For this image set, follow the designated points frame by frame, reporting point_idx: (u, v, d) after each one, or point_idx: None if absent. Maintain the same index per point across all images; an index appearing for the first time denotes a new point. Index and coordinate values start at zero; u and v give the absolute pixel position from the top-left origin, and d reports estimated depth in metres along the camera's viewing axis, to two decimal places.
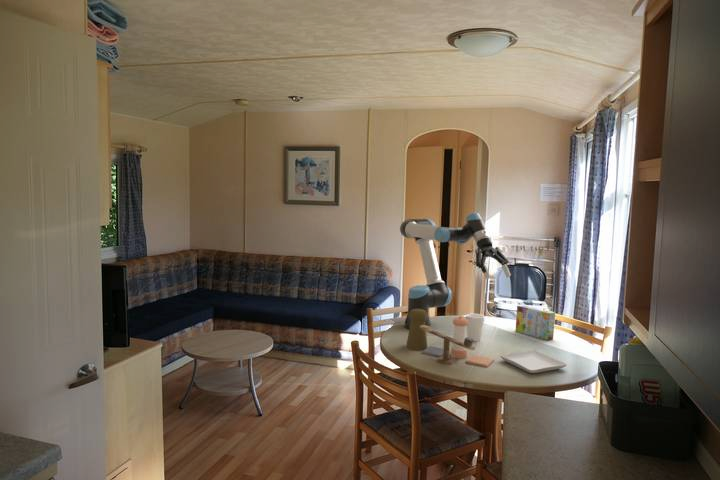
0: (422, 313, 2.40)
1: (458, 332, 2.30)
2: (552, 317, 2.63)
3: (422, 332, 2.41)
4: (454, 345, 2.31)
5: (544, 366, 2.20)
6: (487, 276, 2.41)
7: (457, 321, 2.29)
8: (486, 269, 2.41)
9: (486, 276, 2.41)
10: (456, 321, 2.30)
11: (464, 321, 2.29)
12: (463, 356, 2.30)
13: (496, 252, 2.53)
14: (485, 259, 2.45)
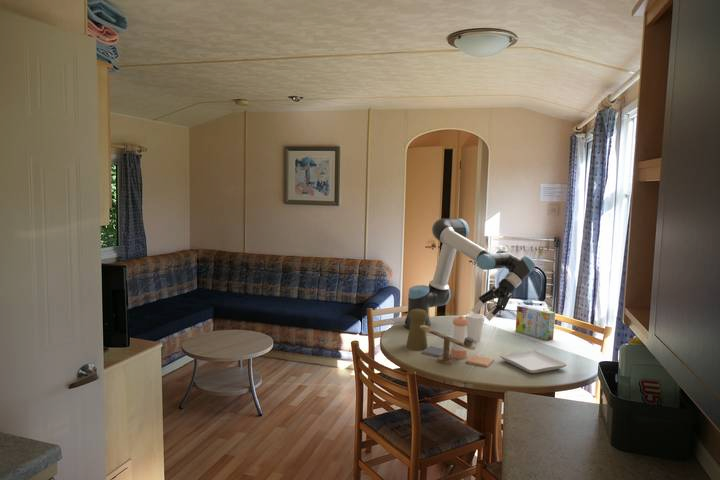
0: (422, 313, 2.40)
1: (458, 332, 2.30)
2: (552, 317, 2.63)
3: (422, 332, 2.41)
4: (454, 345, 2.31)
5: (544, 366, 2.20)
6: None
7: (457, 321, 2.29)
8: None
9: None
10: (456, 321, 2.30)
11: (464, 321, 2.29)
12: (463, 356, 2.30)
13: None
14: (486, 296, 2.40)
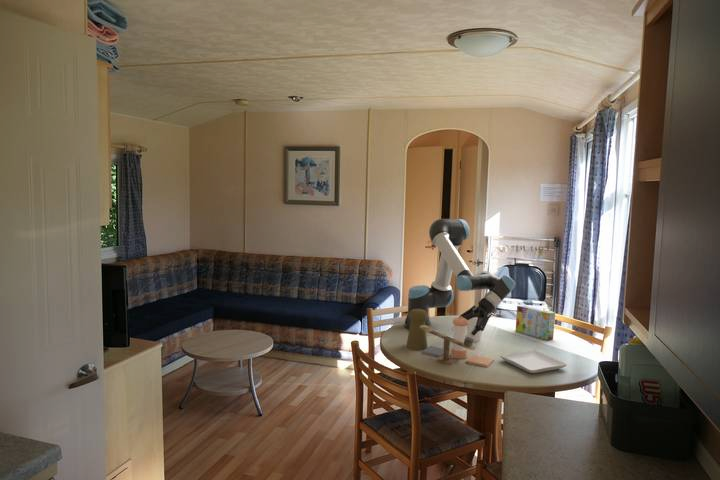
0: (422, 313, 2.40)
1: (458, 332, 2.30)
2: (552, 317, 2.63)
3: (422, 332, 2.41)
4: (454, 345, 2.31)
5: (544, 366, 2.20)
6: None
7: (457, 321, 2.29)
8: None
9: None
10: (456, 321, 2.30)
11: (464, 321, 2.29)
12: (463, 356, 2.30)
13: None
14: (466, 315, 2.38)
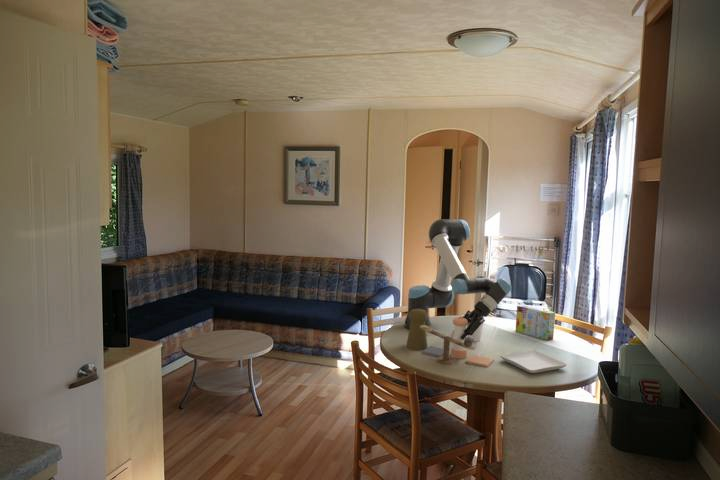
0: (422, 313, 2.40)
1: (458, 332, 2.30)
2: (552, 317, 2.63)
3: (422, 332, 2.41)
4: (454, 345, 2.31)
5: (544, 366, 2.20)
6: None
7: (457, 321, 2.29)
8: (453, 330, 2.36)
9: None
10: (456, 321, 2.30)
11: (464, 321, 2.29)
12: (463, 356, 2.30)
13: None
14: None
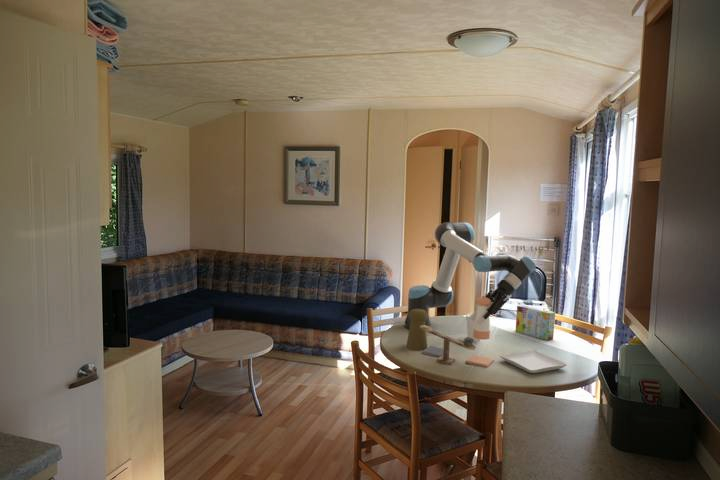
0: (422, 313, 2.40)
1: (481, 312, 2.21)
2: (552, 317, 2.63)
3: (422, 332, 2.41)
4: (477, 326, 2.23)
5: (544, 366, 2.20)
6: None
7: (480, 301, 2.21)
8: None
9: None
10: (479, 301, 2.21)
11: (488, 301, 2.21)
12: (486, 337, 2.22)
13: None
14: None
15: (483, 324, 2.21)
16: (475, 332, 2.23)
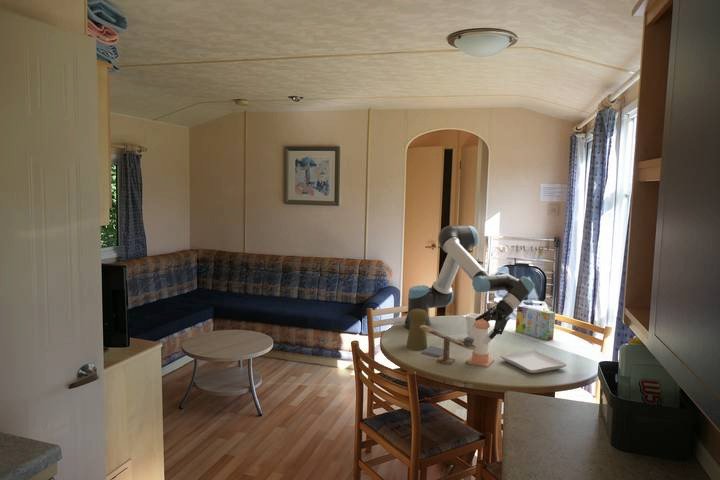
0: (422, 313, 2.40)
1: (480, 335, 2.22)
2: (552, 317, 2.63)
3: (422, 332, 2.41)
4: (475, 348, 2.24)
5: (544, 366, 2.20)
6: None
7: (479, 324, 2.22)
8: (473, 325, 2.31)
9: None
10: (478, 324, 2.22)
11: (486, 324, 2.22)
12: (485, 360, 2.23)
13: None
14: (483, 318, 2.30)
15: (482, 347, 2.22)
16: (474, 355, 2.24)
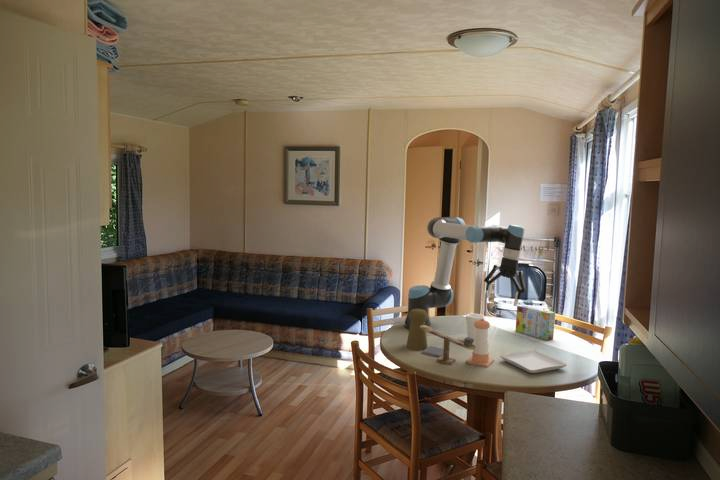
0: (422, 313, 2.40)
1: (480, 335, 2.22)
2: (552, 317, 2.63)
3: (422, 332, 2.41)
4: (475, 348, 2.24)
5: (544, 366, 2.20)
6: None
7: (479, 324, 2.22)
8: (488, 289, 2.37)
9: None
10: (478, 324, 2.22)
11: (486, 324, 2.22)
12: (485, 360, 2.23)
13: None
14: (494, 279, 2.35)
15: (482, 347, 2.22)
16: (474, 355, 2.24)
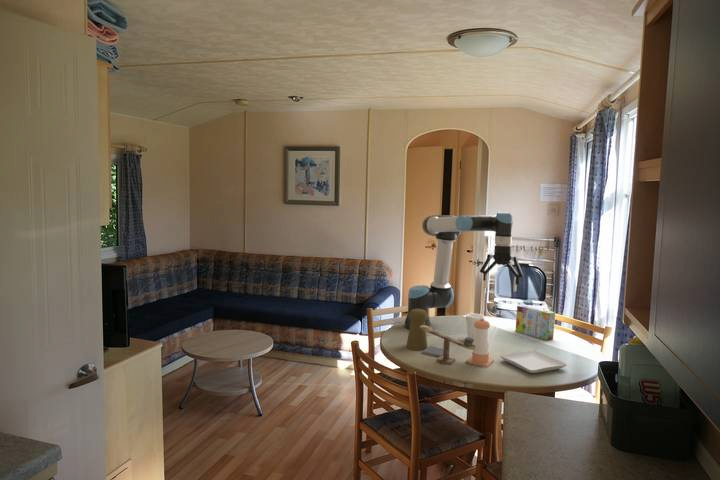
0: (422, 313, 2.40)
1: (480, 335, 2.22)
2: (552, 317, 2.63)
3: (422, 332, 2.41)
4: (475, 348, 2.24)
5: (544, 366, 2.20)
6: None
7: (479, 324, 2.22)
8: (485, 279, 2.37)
9: None
10: (478, 324, 2.22)
11: (486, 324, 2.22)
12: (485, 360, 2.23)
13: None
14: (490, 268, 2.36)
15: (482, 347, 2.22)
16: (474, 355, 2.24)
